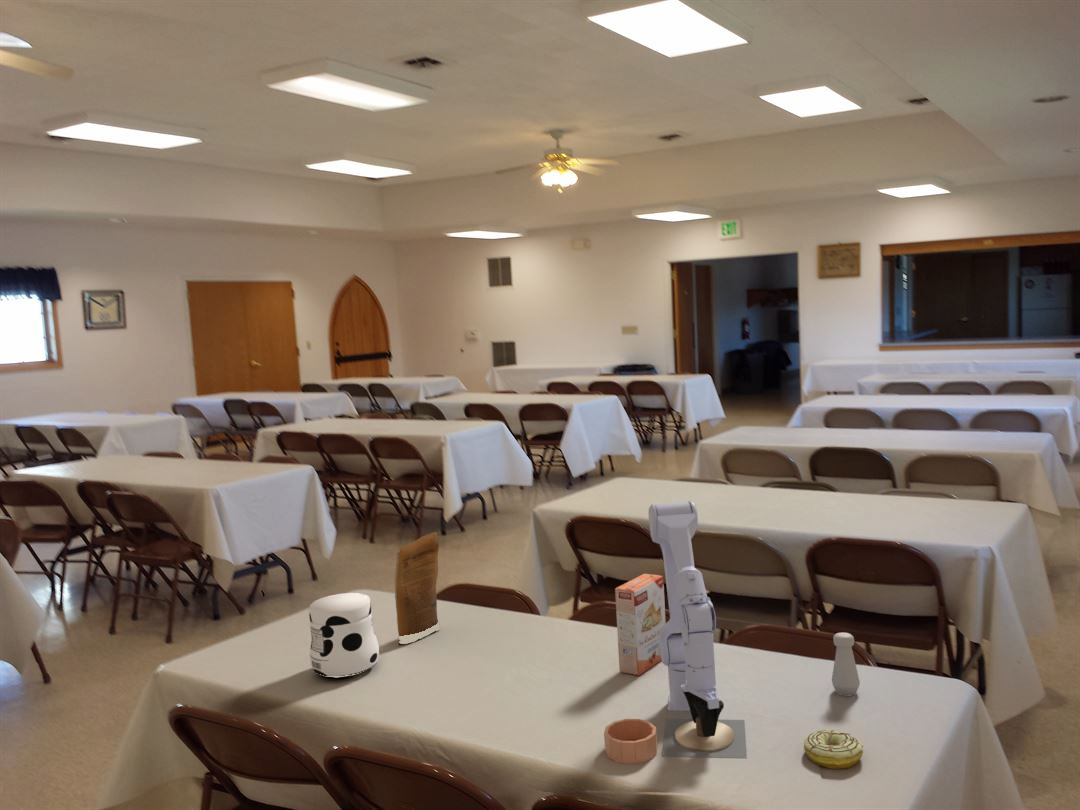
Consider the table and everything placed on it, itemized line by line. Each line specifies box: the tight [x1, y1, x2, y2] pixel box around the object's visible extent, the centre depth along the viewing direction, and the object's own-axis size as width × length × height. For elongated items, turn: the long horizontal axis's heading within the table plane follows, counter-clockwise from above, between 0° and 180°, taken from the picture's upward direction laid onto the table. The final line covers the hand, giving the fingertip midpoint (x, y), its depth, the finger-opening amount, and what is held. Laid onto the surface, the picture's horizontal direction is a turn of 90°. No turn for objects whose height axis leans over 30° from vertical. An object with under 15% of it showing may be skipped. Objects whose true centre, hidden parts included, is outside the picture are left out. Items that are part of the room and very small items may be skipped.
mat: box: [661, 718, 748, 759], centre depth 180 cm, size 16×16×1 cm
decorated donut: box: [803, 729, 864, 770], centre depth 169 cm, size 10×11×4 cm
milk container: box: [308, 592, 380, 676], centre depth 231 cm, size 17×17×18 cm
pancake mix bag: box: [394, 531, 440, 637], centre depth 251 cm, size 7×19×28 cm, turn 144°
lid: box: [675, 717, 734, 751], centre depth 180 cm, size 12×12×4 cm
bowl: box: [603, 718, 658, 764], centre depth 177 cm, size 10×10×4 cm
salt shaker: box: [831, 632, 861, 696], centre depth 196 cm, size 6×6×13 cm
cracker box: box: [614, 573, 667, 677], centre depth 219 cm, size 14×6×21 cm, turn 143°
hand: (703, 728), depth 180 cm, fingers open, 6 cm apart
